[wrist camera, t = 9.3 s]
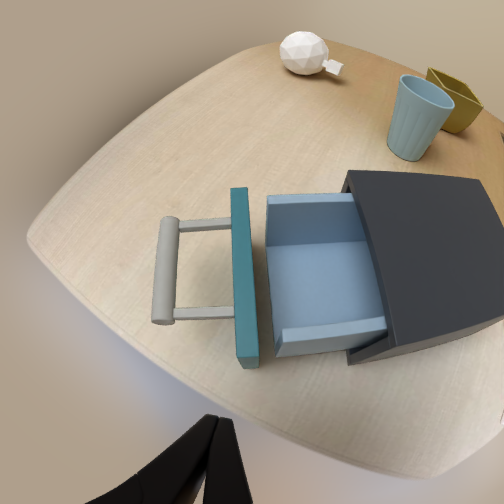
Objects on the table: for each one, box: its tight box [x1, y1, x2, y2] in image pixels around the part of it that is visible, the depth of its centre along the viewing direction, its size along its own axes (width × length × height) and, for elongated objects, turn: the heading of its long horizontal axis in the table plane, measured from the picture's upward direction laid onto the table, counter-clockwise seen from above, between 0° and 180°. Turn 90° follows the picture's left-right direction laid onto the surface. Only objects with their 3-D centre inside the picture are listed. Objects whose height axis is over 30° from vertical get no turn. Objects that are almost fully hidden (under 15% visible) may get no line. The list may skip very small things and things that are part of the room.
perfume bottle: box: [280, 31, 345, 76], centre depth 40 cm, size 9×9×12 cm
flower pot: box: [426, 67, 484, 134], centre depth 34 cm, size 9×9×9 cm
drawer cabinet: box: [341, 170, 504, 366], centre depth 20 cm, size 15×13×9 cm
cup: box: [387, 75, 455, 161], centre depth 29 cm, size 8×8×10 cm
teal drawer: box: [151, 187, 388, 369], centre depth 20 cm, size 18×11×8 cm, turn 94°
